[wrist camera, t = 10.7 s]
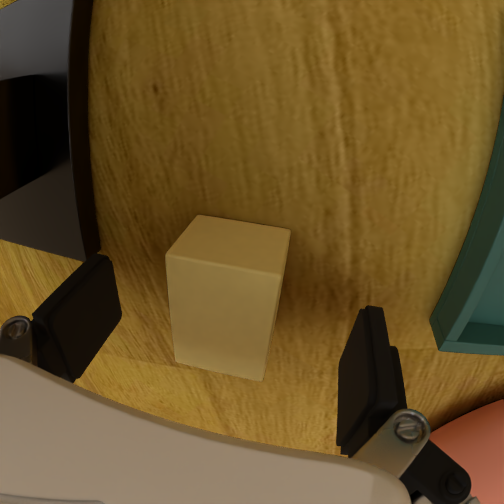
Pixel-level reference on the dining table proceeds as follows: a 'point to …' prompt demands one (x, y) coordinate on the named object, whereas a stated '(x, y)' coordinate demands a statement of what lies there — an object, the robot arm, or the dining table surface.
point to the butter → (226, 294)
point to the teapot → (478, 449)
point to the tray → (478, 274)
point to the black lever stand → (46, 128)
